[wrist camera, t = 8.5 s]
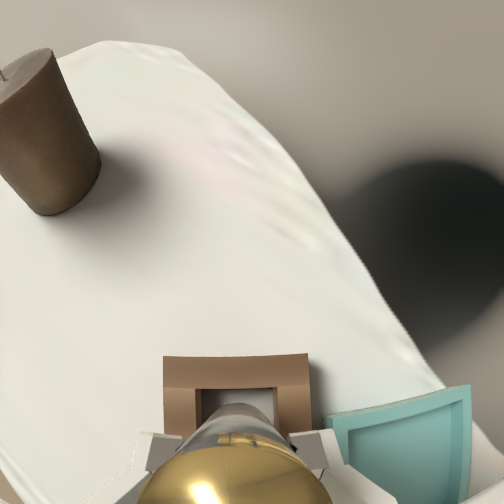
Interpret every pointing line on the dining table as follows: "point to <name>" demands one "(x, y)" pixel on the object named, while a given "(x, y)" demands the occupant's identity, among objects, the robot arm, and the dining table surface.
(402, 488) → the teal tray
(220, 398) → the dining table surface
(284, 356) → the walnut collar
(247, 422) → the metal peg
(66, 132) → the pillar candle
